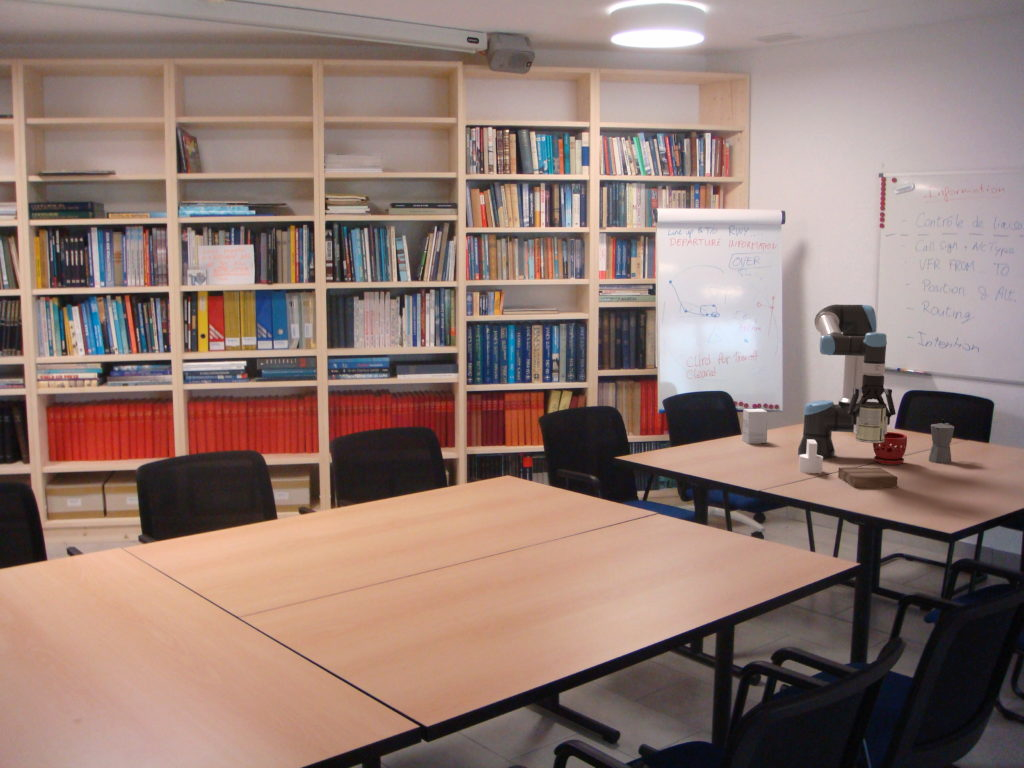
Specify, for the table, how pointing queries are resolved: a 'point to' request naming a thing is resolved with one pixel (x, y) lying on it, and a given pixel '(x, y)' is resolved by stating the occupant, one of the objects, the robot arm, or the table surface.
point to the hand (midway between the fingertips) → (870, 433)
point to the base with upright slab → (811, 459)
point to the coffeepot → (941, 442)
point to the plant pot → (891, 449)
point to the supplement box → (755, 426)
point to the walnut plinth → (867, 477)
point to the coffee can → (871, 422)
